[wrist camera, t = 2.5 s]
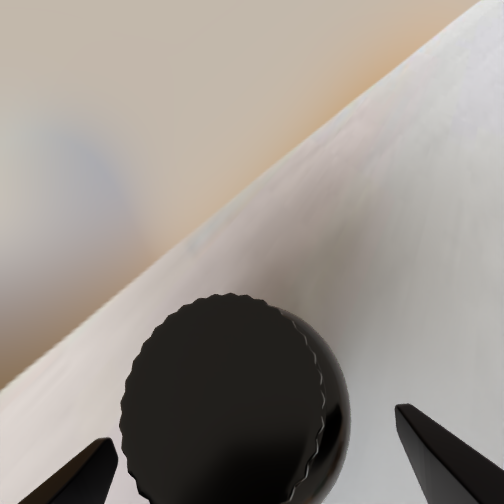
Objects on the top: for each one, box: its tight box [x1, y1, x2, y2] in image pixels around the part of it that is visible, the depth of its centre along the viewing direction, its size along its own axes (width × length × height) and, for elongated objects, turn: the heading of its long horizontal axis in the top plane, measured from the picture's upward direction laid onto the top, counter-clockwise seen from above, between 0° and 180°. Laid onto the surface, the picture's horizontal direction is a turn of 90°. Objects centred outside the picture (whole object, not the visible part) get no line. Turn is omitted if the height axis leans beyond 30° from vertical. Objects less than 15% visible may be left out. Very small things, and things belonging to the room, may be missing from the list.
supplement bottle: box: [119, 293, 351, 504], centre depth 11 cm, size 7×7×12 cm
